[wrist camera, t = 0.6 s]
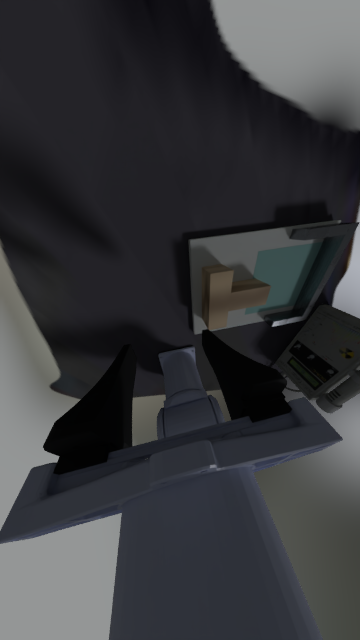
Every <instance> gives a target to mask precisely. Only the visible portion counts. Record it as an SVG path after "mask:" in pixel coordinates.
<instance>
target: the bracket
mask: <svg viewBox="0 0 360 640" xmlns="http://www.w3.org/2000/svg"><path fill="white" fill-rule="evenodd" d="M358 224H359V222H358V223H335V224H328V225H320V226H313V227H305V228H298V229H293V230H292V233H291V236H290V239H292V240H312V239H319V238H324V240H323V243H322V245H321V247H320V250H319V252H318V254H317V256H316V258H315V261H314V263H313V265H312V267H311V269H310V272H309V274H308V276H307V278H306V280H305V283H304V285H303V287H302V289H301V291H300V294H299V296H298V298H297V300H296V302H295V305H294V306H293V309H292V310H288V311H283V312H277V313H272V314H267V315H265V316H264V319H263V320H264V321H265V322H267V323H268V324H269V325H270V326H271V327H274V326H279V325H283V324H288V323H293V322H298V321H303V320H306V319H307V317H308V315H309V313H310V311H311V310H312V308H313V306H314V304H315V302H316V301H317V299H318V297H319V295H320V293H321V292H322V290H323V288H324V286H325V284H326V282H327V281H328V279H329V277H330V275H331V273H332V272H333V270H334V268H335V266H336V264H337V263H338V261H339V259H340V257H341V255H342V253H343V252H344V250H345V248H346V246H347V244H348V243H349V241H350V239H351V237H352V235H353V234H354V232H355V230H356V228H357V226H358Z"/></svg>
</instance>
